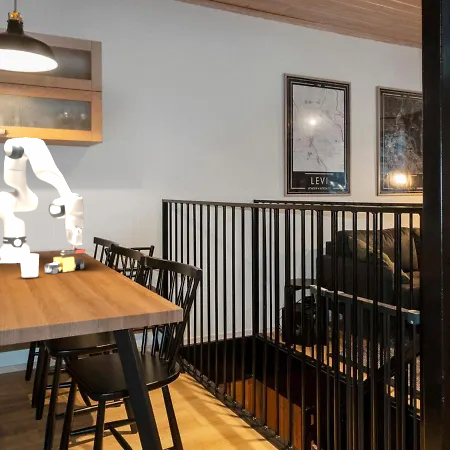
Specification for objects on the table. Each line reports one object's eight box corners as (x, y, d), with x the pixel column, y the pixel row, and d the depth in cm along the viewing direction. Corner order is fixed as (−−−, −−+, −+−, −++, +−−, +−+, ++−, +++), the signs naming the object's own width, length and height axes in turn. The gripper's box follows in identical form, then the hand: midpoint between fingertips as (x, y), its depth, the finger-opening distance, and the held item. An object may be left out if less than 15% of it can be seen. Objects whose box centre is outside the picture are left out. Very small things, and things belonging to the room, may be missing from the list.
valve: (52, 275, 222) (52, 257, 221) (43, 274, 225) (42, 256, 225) (85, 269, 239) (85, 253, 238) (76, 268, 242) (76, 252, 242)
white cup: (32, 278, 210) (32, 256, 210) (16, 277, 212) (16, 255, 211) (42, 275, 218) (42, 254, 218) (27, 275, 220) (27, 253, 219)
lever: (63, 255, 229) (63, 251, 229) (58, 254, 231) (58, 251, 231) (85, 252, 240) (85, 249, 240) (81, 251, 242) (81, 248, 242)
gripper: (85, 226, 232) (85, 254, 233) (76, 223, 249) (76, 250, 250) (72, 226, 229) (72, 255, 229) (64, 224, 246) (64, 250, 247)
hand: (74, 252), depth 240 cm, fingers closed
